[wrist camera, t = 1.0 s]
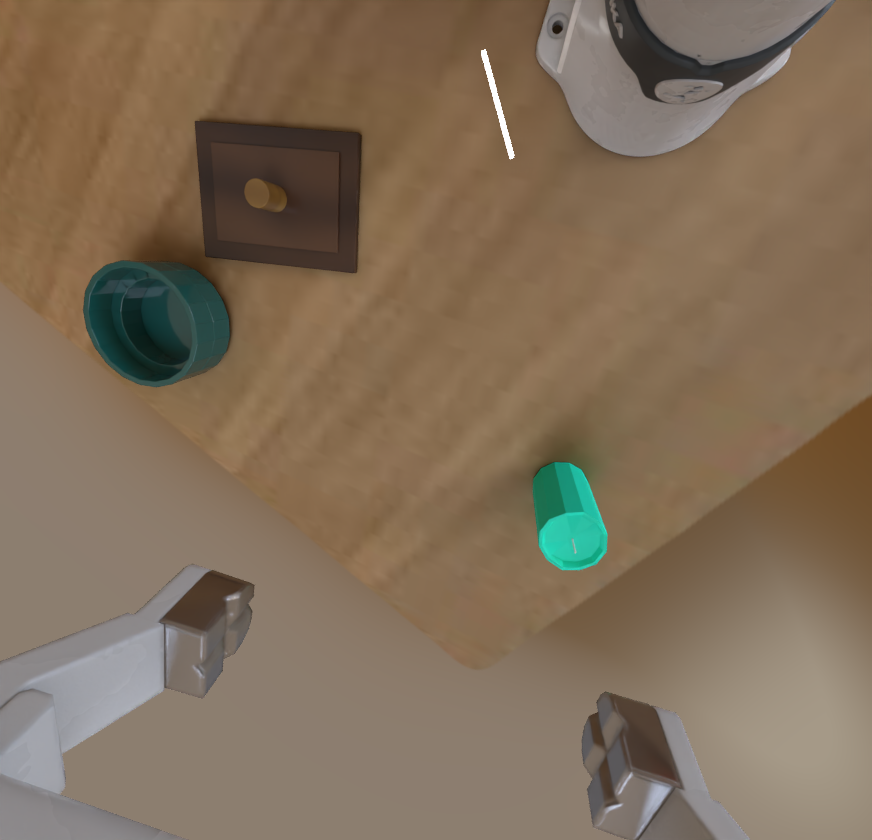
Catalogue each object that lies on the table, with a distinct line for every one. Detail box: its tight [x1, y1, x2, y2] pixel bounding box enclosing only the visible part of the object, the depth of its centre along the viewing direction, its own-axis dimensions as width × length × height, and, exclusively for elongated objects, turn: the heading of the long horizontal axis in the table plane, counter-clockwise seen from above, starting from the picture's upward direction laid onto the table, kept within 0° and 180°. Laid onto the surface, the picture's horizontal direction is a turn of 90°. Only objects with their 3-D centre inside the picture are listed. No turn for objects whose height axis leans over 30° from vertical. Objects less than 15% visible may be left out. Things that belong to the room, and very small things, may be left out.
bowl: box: [83, 260, 230, 387], centre depth 46 cm, size 12×12×6 cm
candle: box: [533, 462, 607, 570], centre depth 43 cm, size 6×6×12 cm
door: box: [195, 121, 361, 273], centre depth 41 cm, size 12×16×4 cm
